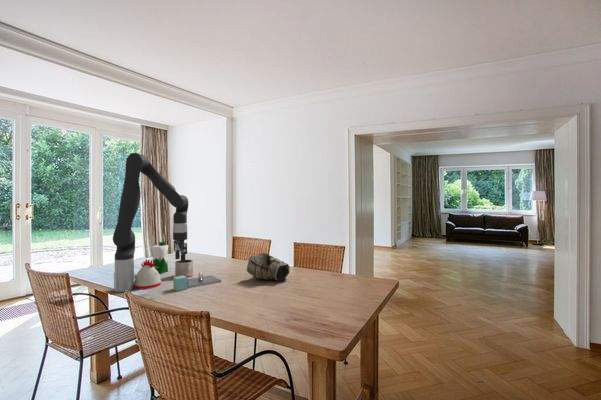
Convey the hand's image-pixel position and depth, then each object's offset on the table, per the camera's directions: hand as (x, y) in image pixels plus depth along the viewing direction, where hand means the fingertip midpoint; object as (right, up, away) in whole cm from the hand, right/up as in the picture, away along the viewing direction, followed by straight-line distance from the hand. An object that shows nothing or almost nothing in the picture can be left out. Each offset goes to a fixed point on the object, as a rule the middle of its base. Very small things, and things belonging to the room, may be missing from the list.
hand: (180, 260), depth 174 cm
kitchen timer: (-21, -16, +7) cm, 28 cm away
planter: (-8, -16, +28) cm, 34 cm away
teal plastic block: (0, -16, 0) cm, 16 cm away
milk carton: (-28, -16, +38) cm, 50 cm away
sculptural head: (+47, -16, +23) cm, 54 cm away
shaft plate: (+7, -16, +14) cm, 22 cm away
